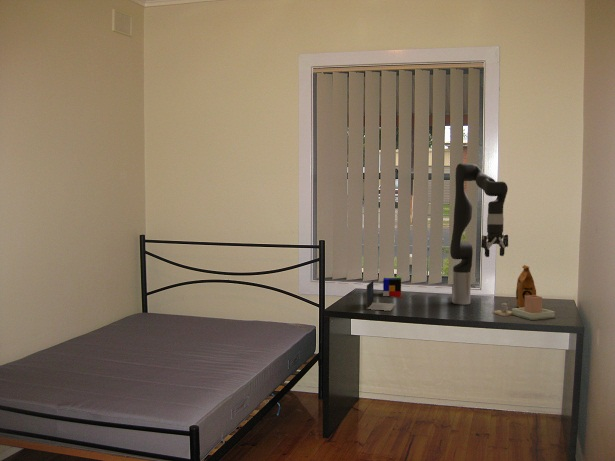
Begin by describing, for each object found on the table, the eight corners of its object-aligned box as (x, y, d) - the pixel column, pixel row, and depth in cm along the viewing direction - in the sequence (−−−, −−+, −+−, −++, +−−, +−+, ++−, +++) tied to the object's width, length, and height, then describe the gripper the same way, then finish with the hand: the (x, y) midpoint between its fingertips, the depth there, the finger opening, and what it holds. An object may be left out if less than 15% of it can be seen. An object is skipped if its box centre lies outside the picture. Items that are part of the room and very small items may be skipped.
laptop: (390, 311, 324) (390, 286, 323) (366, 310, 327) (366, 285, 326) (395, 305, 341) (395, 281, 340) (372, 304, 344) (372, 280, 343)
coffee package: (516, 310, 324) (517, 267, 323) (515, 305, 336) (516, 264, 335) (537, 311, 322) (538, 268, 320) (535, 306, 334) (536, 265, 332)
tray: (511, 314, 314) (511, 308, 314) (533, 312, 320) (534, 306, 319) (531, 320, 301) (531, 314, 301) (554, 317, 307) (554, 311, 307)
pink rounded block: (524, 313, 312) (524, 295, 311) (535, 312, 315) (536, 294, 314) (532, 316, 307) (532, 297, 306) (543, 314, 309) (544, 296, 309)
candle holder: (492, 312, 318) (492, 303, 318) (505, 311, 322) (505, 301, 321) (503, 316, 311) (503, 305, 311) (516, 314, 314) (516, 304, 314)
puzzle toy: (383, 296, 364) (383, 279, 364) (384, 293, 374) (384, 276, 373) (400, 297, 363) (400, 279, 362) (401, 294, 373) (401, 277, 372)
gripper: (502, 221, 312) (501, 254, 314) (478, 222, 307) (477, 256, 309) (512, 223, 305) (511, 256, 307) (488, 224, 300) (487, 258, 302)
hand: (494, 256), depth 308 cm, fingers open, 8 cm apart
